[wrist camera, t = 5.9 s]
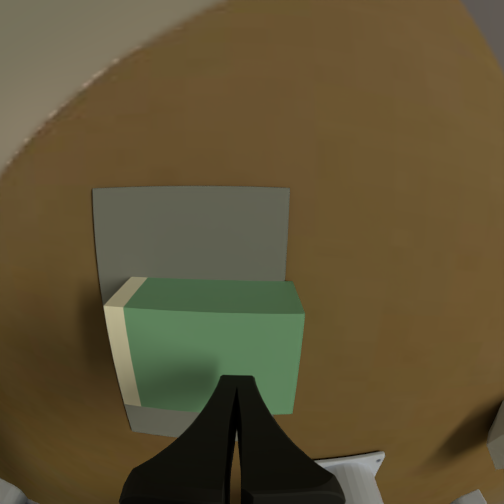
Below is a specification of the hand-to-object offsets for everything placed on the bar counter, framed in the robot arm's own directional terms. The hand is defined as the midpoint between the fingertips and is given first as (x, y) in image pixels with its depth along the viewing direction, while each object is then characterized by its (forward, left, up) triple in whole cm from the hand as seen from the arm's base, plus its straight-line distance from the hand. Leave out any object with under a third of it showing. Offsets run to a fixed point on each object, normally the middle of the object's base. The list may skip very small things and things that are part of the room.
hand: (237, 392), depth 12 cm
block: (0, -3, -4) cm, 5 cm away
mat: (-1, +3, -6) cm, 7 cm away
